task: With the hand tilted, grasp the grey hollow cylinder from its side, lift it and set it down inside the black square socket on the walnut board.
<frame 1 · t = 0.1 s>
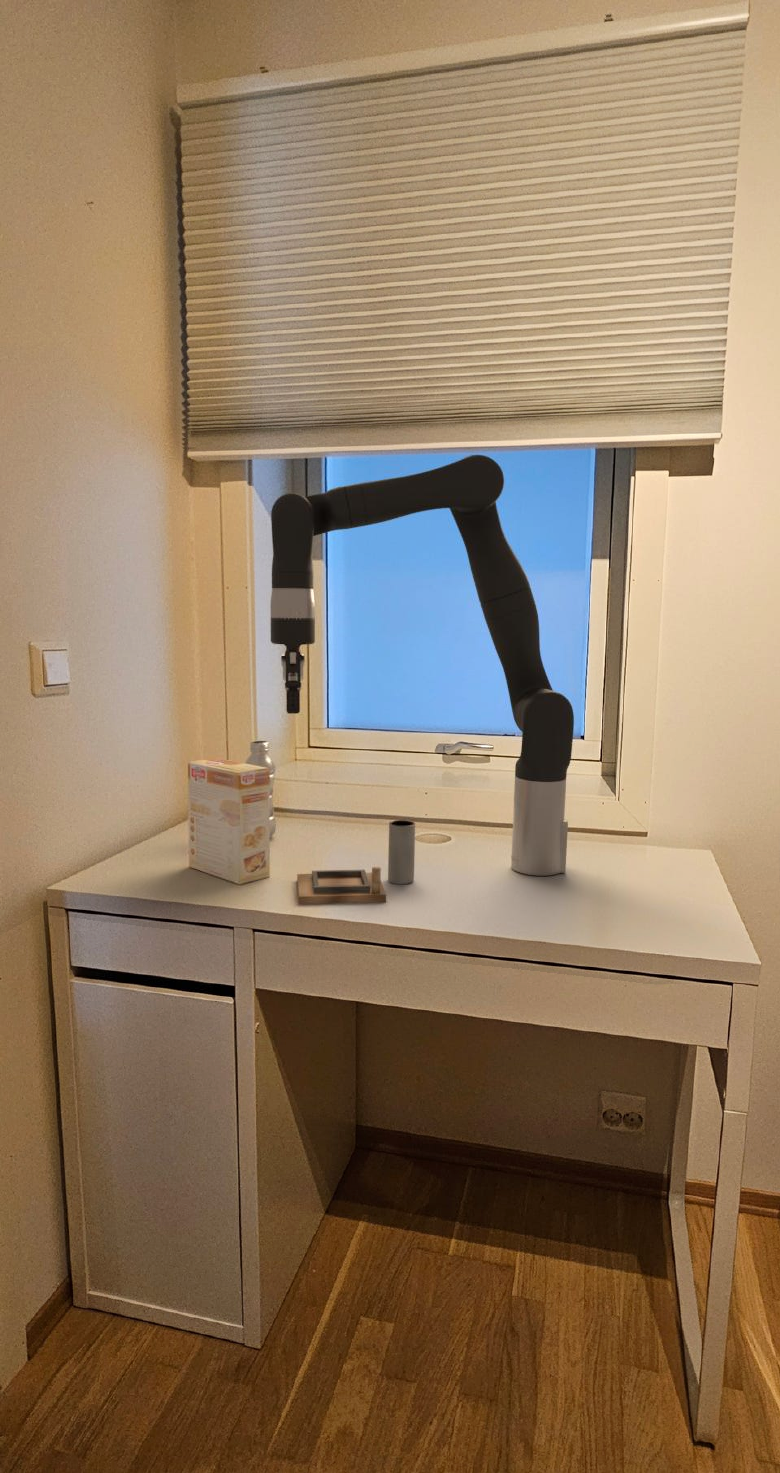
hand: (293, 710, 147), 29 cm above the table, tool pointing down, fingers open, 8 cm apart
socket board: (340, 890, 142), on the table
coffeecake box: (228, 873, 151), on the table
plastic bottle: (259, 839, 174), on the table
grey hollow cylinder: (400, 881, 148), on the table
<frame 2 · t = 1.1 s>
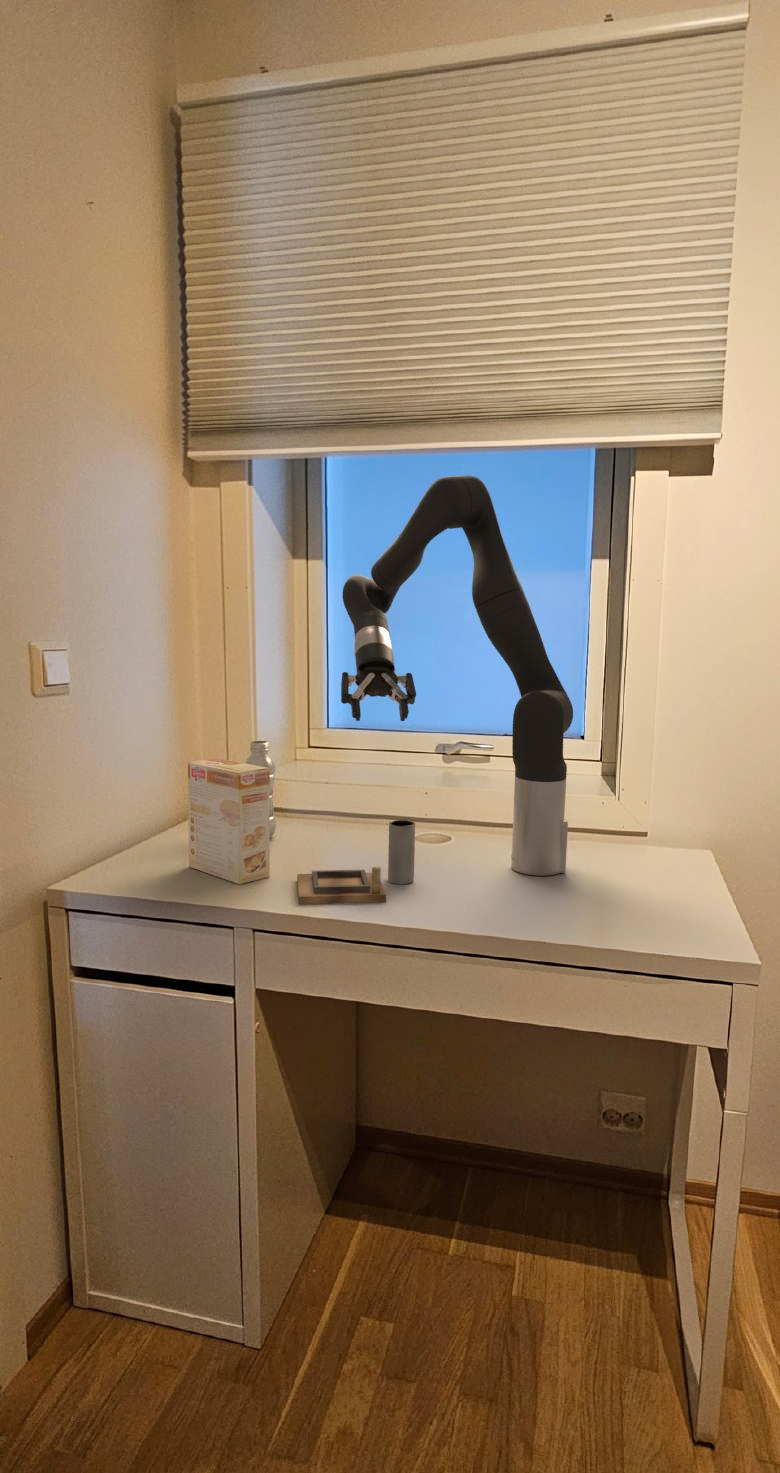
hand: (381, 718, 159), 27 cm above the table, tool tilted 45°, fingers open, 8 cm apart
nothing on the table moved.
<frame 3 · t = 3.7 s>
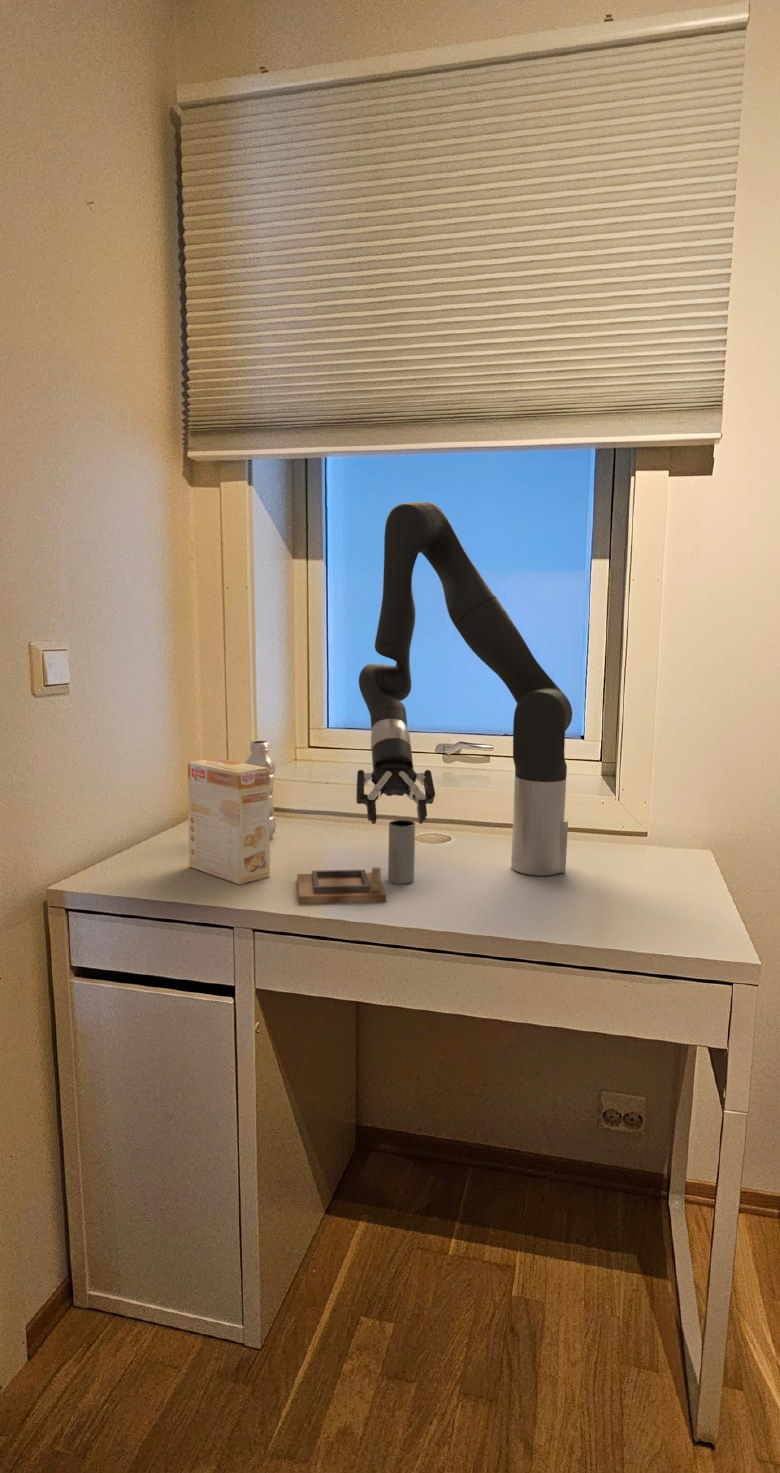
hand: (398, 821, 152), 9 cm above the table, tool tilted 45°, fingers open, 8 cm apart
nothing on the table moved.
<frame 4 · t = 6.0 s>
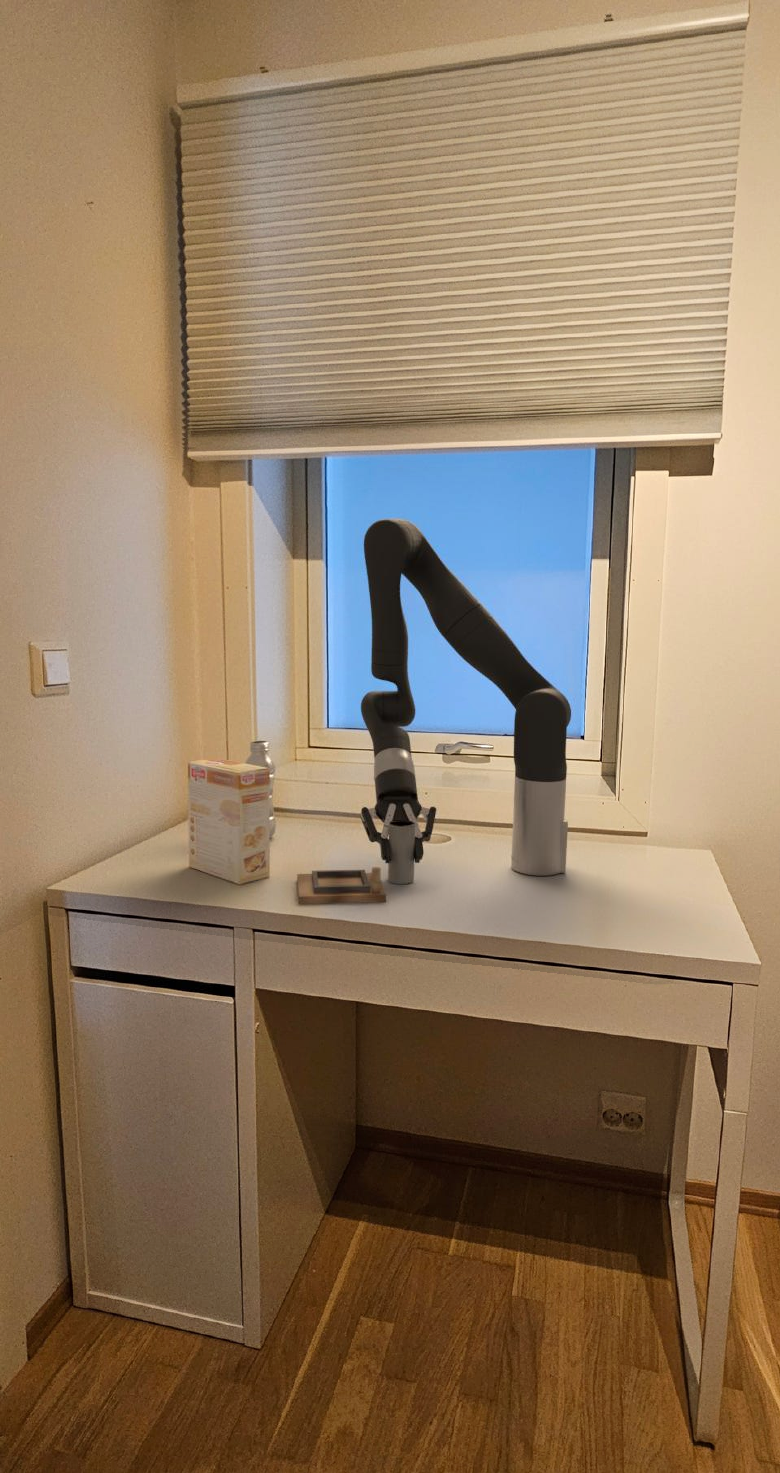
hand: (403, 860, 146), 4 cm above the table, tool tilted 45°, fingers closed on grey hollow cylinder, 4 cm apart
grey hollow cylinder: (400, 881, 148), on the table, touching gripper
everything else where it was.
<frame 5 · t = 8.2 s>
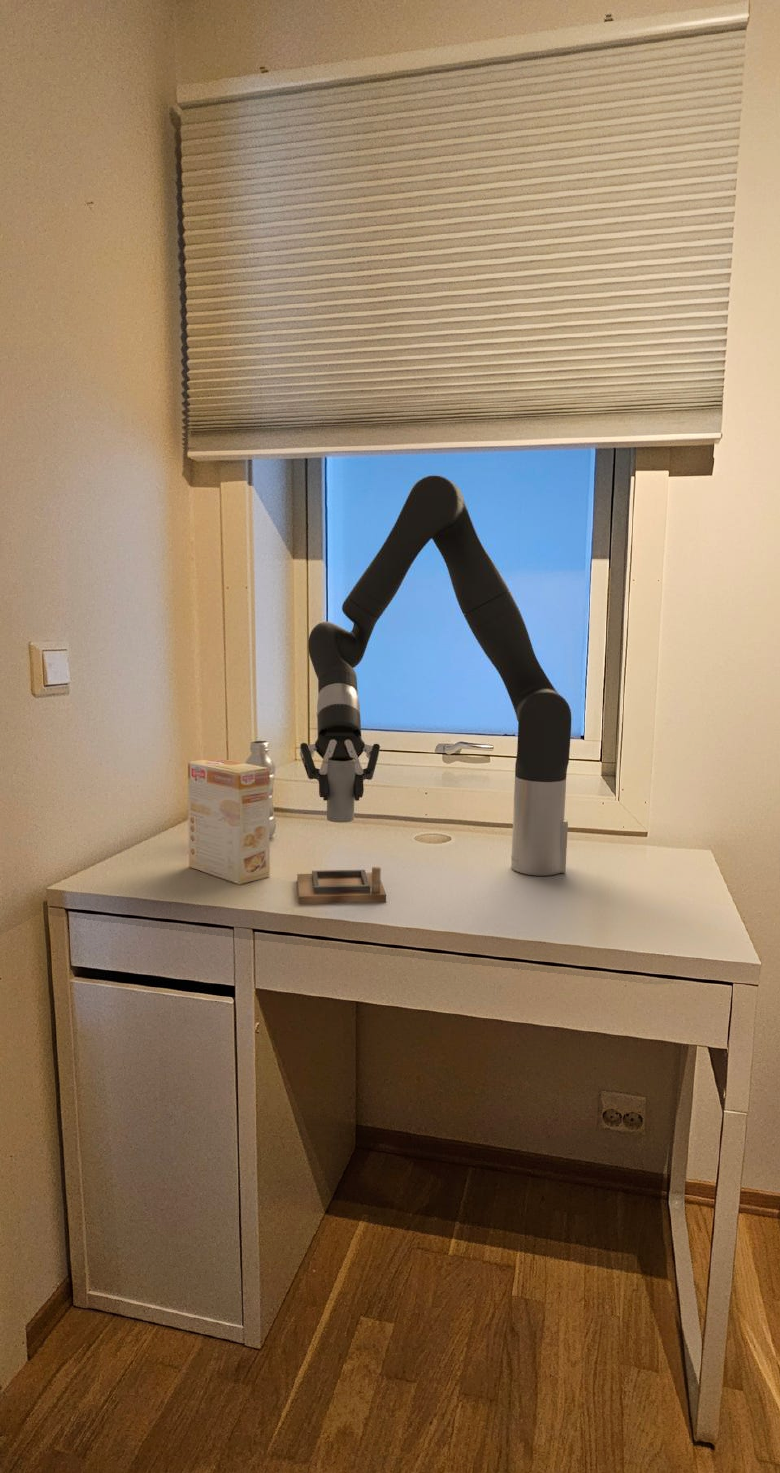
hand: (341, 797, 138), 16 cm above the table, tool tilted 45°, fingers closed on grey hollow cylinder, 4 cm apart
grey hollow cylinder: (340, 820, 141), point 12 cm above the table, touching gripper
everything else where it was.
when the fingers open (7 cm above the table, at t = 10.4 s): grey hollow cylinder drops 1 cm, resting on socket board.
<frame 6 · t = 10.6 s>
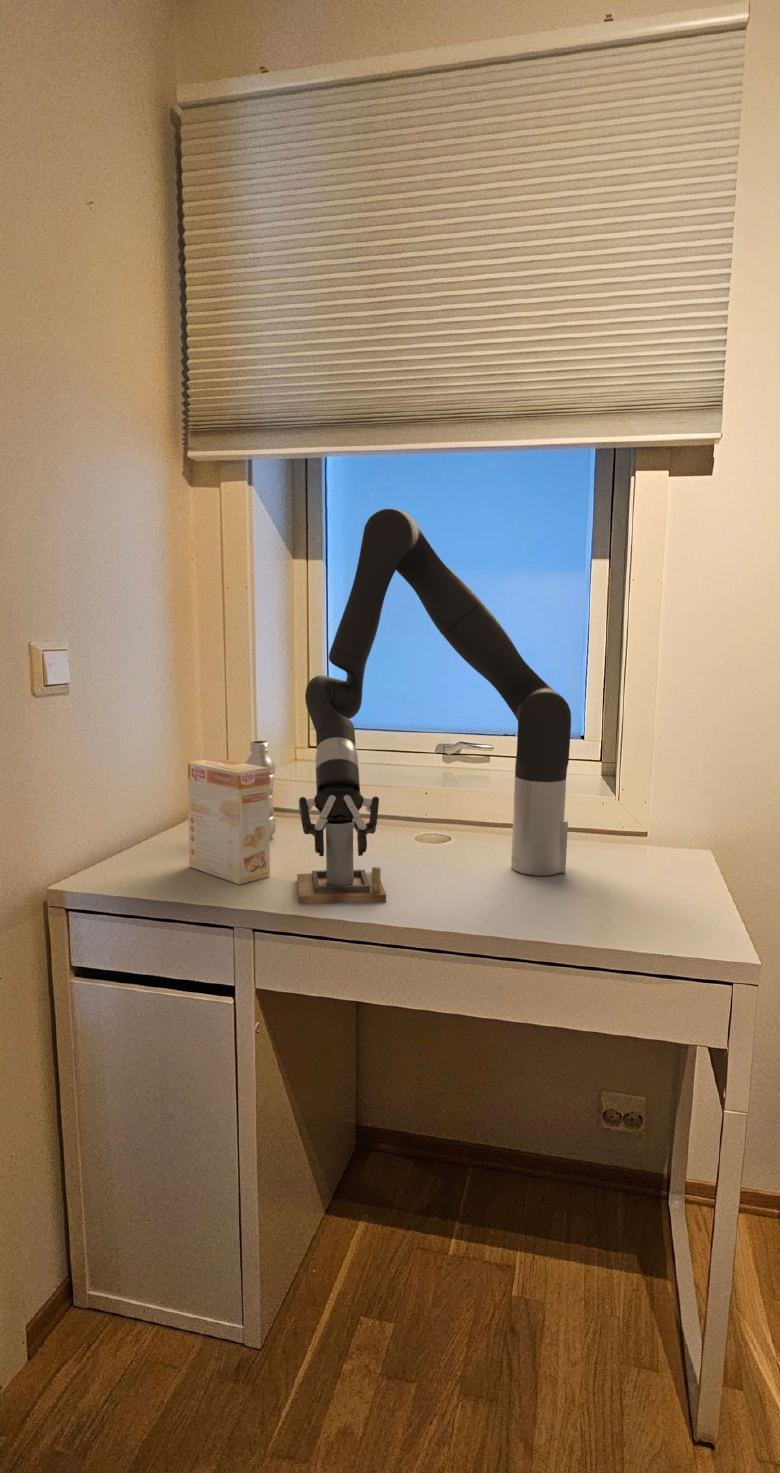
hand: (341, 853, 139), 7 cm above the table, tool tilted 45°, fingers open, 6 cm apart
grey hollow cylinder: (340, 883, 142), point 1 cm above the table, touching socket board
everything else where it was.
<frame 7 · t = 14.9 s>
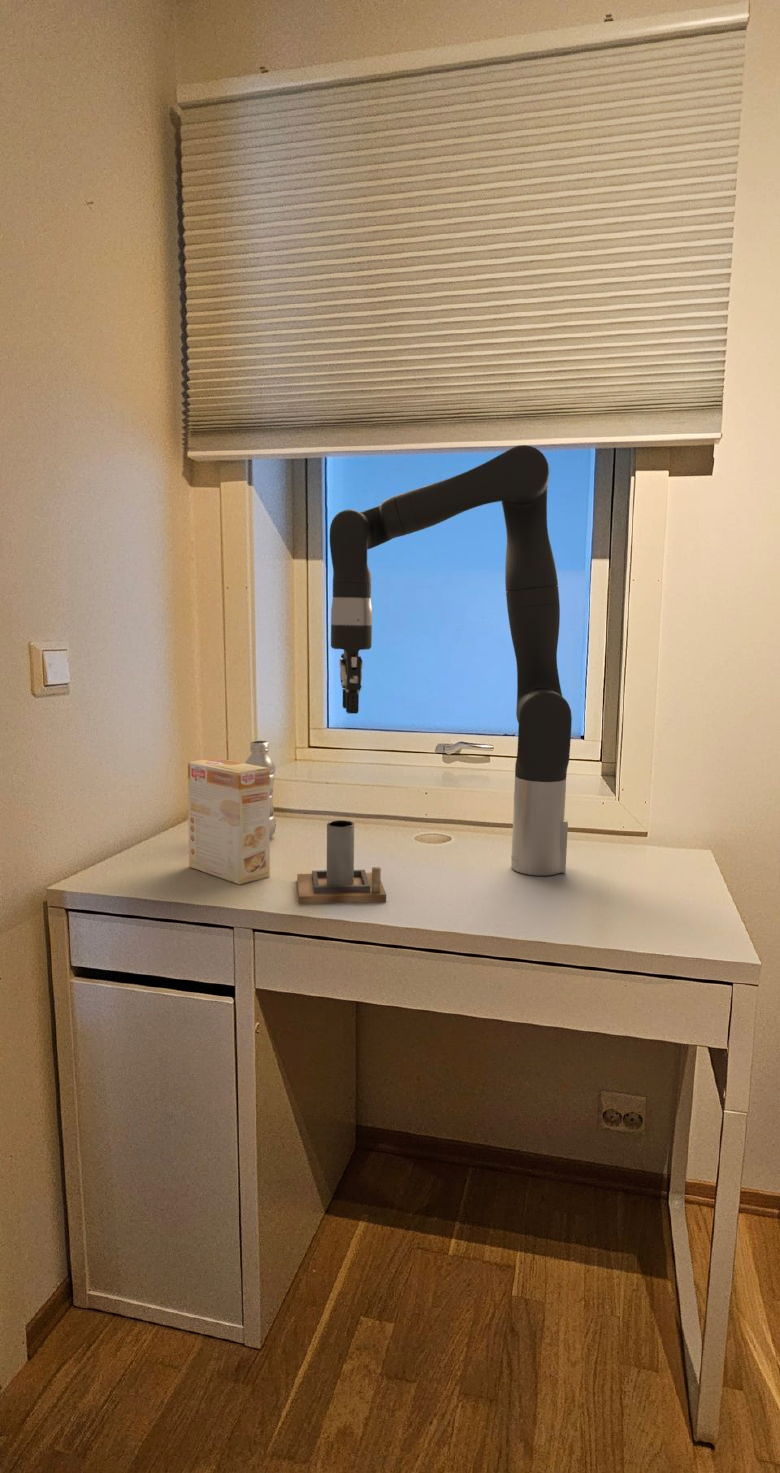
hand: (350, 710, 158), 28 cm above the table, tool pointing down, fingers open, 8 cm apart
nothing on the table moved.
at the end: grey hollow cylinder 0.2 cm from the socket board (horizontally); grey hollow cylinder tilted 0°; the gripper is holding nothing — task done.
